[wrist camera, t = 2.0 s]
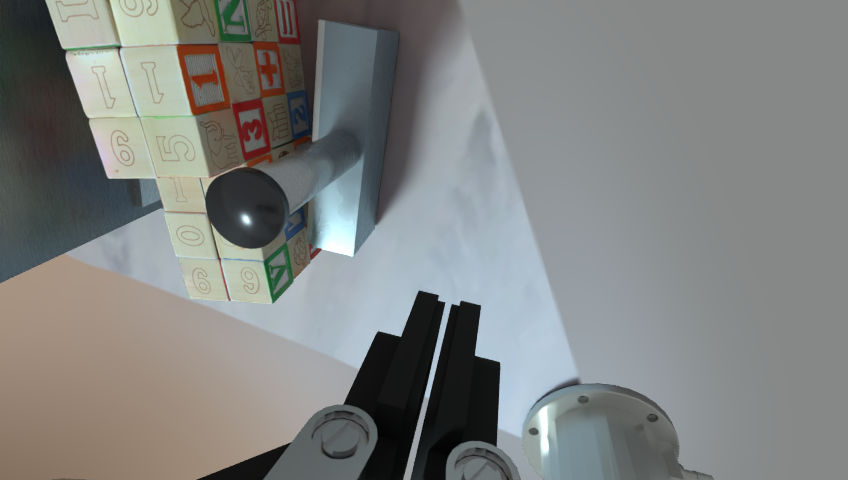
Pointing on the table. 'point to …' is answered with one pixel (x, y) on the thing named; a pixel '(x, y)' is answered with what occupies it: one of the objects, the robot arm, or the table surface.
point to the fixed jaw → (51, 151)
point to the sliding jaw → (322, 152)
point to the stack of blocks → (195, 118)
